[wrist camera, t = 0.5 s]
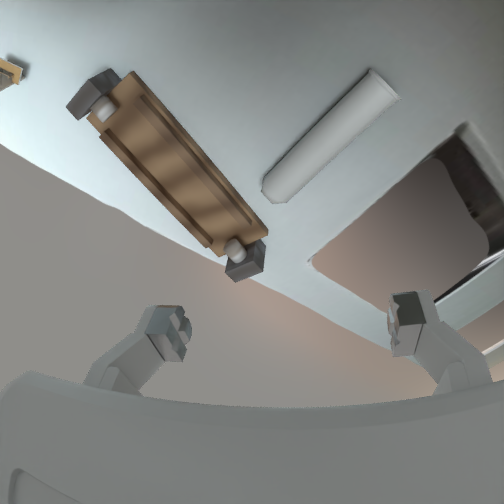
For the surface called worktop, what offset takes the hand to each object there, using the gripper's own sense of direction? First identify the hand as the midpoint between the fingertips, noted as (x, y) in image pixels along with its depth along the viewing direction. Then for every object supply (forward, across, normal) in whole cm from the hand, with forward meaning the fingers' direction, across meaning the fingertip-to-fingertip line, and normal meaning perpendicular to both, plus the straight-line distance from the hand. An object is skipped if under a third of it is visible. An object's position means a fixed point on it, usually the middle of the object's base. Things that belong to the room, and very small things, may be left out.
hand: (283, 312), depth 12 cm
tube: (+38, -3, +5) cm, 38 cm away
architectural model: (+34, +44, -22) cm, 60 cm away
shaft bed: (+37, +20, +7) cm, 43 cm away
